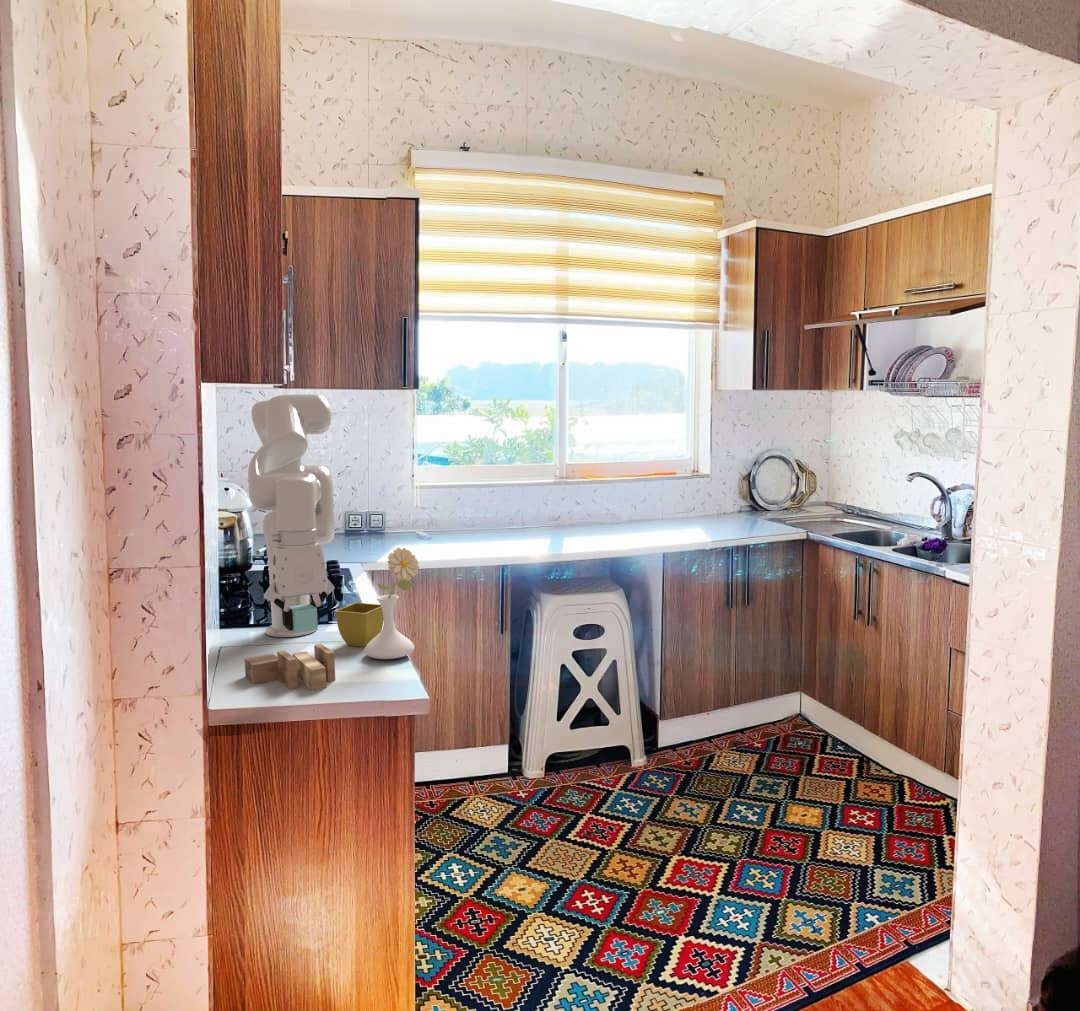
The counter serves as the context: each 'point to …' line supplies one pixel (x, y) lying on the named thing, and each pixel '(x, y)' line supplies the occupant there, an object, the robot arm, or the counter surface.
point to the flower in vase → (389, 638)
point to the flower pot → (359, 623)
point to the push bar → (310, 670)
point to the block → (304, 618)
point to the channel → (289, 665)
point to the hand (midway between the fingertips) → (301, 626)
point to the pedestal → (261, 668)
